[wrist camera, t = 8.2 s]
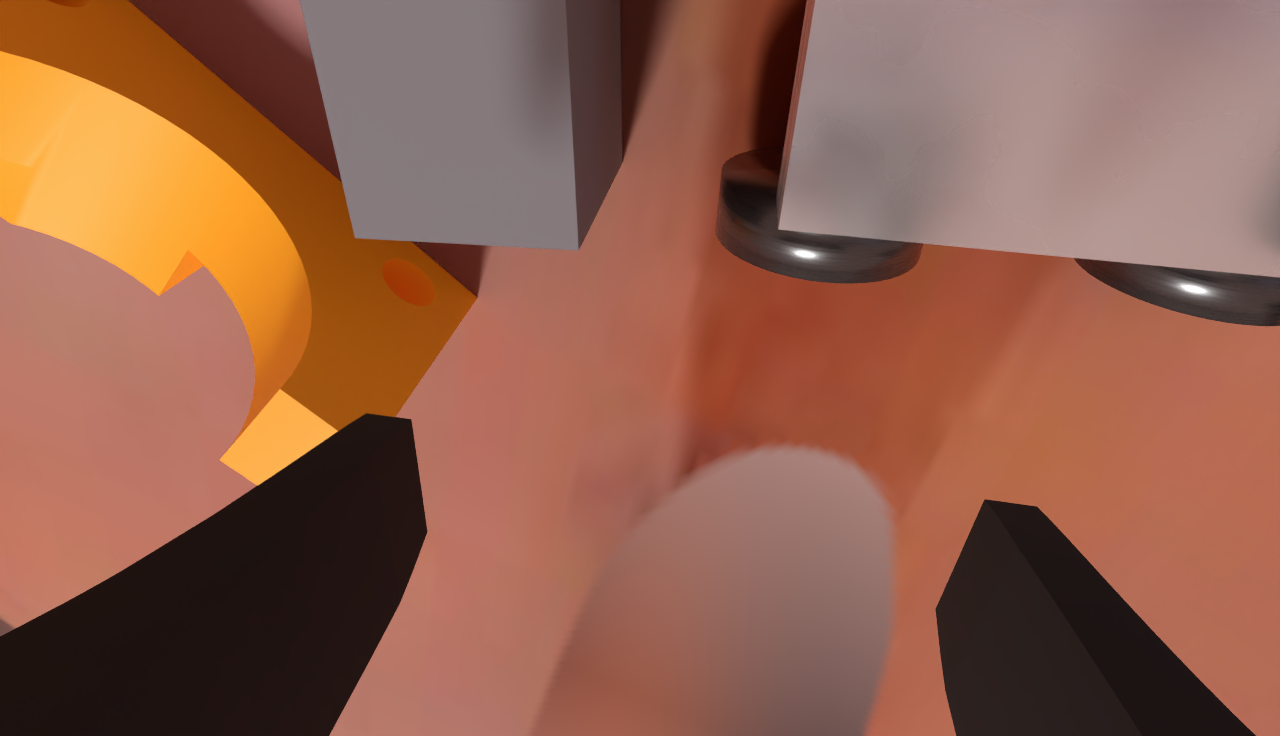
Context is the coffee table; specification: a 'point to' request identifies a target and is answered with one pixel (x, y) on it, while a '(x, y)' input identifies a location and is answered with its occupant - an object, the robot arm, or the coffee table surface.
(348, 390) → the pipe clamp
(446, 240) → the block
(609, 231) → the coffee table surface
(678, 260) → the coffee table surface
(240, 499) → the robot arm
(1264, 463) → the coffee table surface
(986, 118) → the trolley
